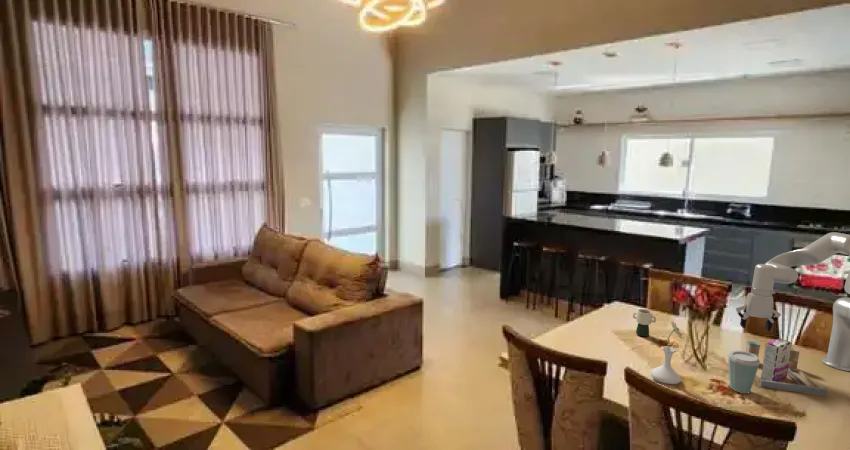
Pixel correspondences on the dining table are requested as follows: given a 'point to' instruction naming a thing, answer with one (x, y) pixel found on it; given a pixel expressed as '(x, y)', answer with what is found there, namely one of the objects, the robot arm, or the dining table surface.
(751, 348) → the sled
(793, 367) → the sled
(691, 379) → the dining table surface
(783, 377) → the candy bar box
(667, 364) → the flower in vase
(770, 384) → the lane rails
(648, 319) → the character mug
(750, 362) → the disposable coffee cup
